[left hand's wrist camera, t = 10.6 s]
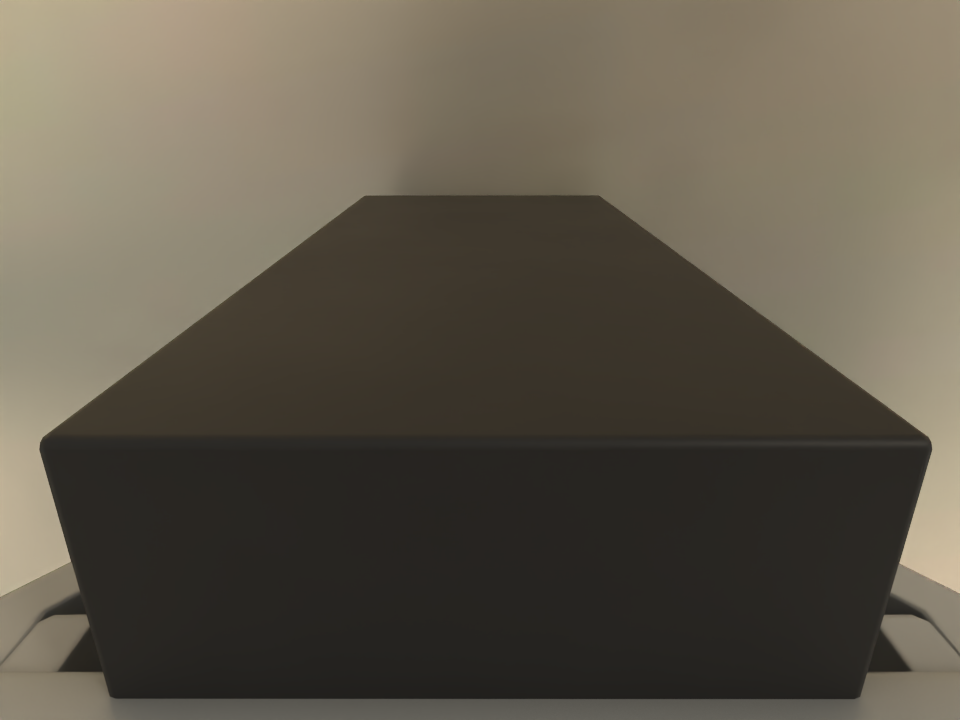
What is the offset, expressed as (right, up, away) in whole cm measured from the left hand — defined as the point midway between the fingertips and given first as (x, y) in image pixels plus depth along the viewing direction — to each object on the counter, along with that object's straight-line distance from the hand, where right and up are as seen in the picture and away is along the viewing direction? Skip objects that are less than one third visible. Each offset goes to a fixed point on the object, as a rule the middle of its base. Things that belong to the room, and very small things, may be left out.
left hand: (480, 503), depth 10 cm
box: (0, -6, +10) cm, 12 cm away
